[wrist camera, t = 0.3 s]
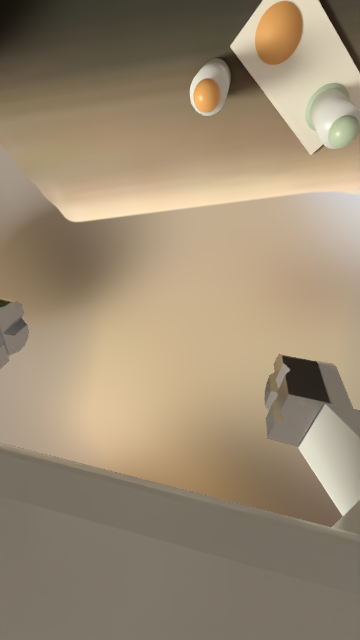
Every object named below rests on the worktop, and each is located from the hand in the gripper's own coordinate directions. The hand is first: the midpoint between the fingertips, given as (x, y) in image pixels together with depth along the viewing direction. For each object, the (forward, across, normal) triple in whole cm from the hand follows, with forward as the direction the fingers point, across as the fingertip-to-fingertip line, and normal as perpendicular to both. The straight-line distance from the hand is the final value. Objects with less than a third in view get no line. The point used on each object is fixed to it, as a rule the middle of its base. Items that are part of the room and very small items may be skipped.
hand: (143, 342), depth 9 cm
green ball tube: (+50, -13, -10) cm, 52 cm away
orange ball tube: (+49, +4, -12) cm, 51 cm away
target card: (+49, -8, -14) cm, 52 cm away
